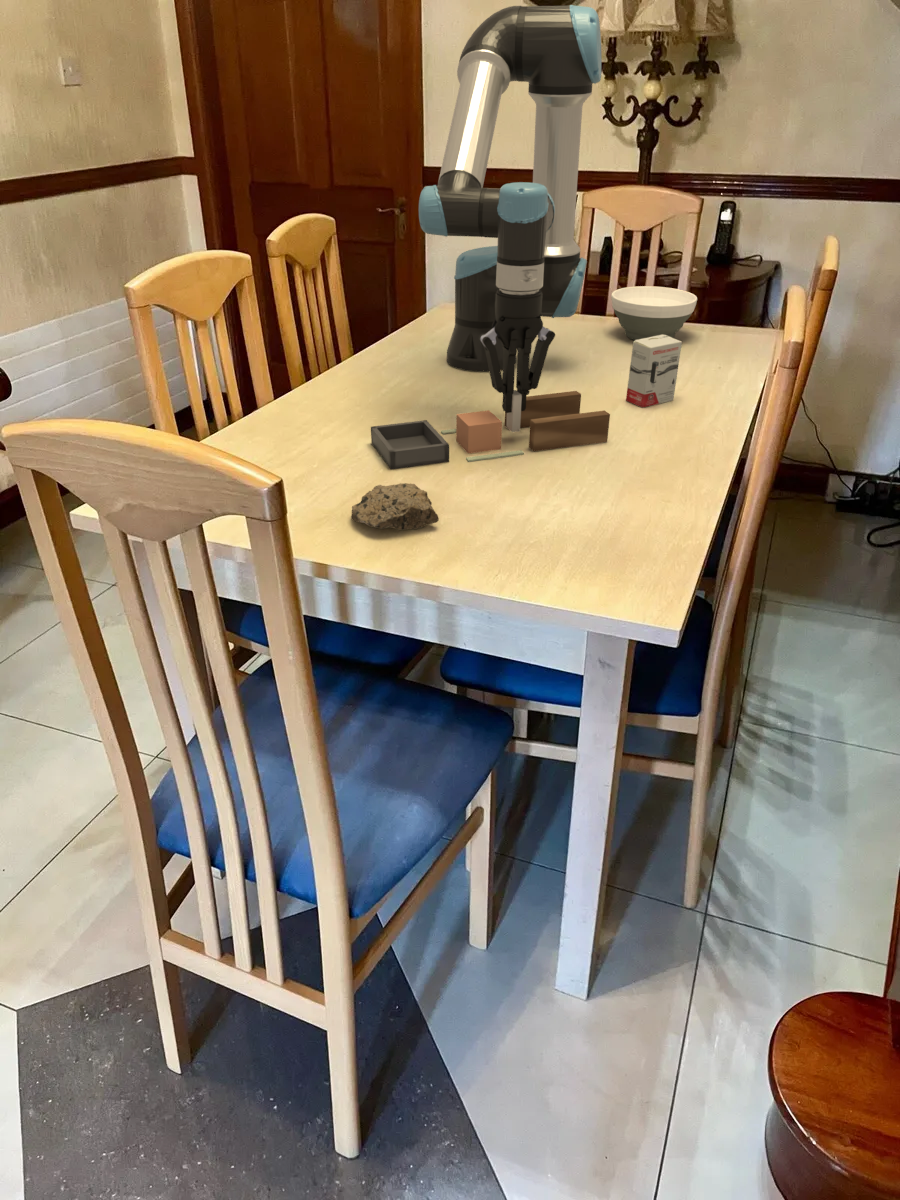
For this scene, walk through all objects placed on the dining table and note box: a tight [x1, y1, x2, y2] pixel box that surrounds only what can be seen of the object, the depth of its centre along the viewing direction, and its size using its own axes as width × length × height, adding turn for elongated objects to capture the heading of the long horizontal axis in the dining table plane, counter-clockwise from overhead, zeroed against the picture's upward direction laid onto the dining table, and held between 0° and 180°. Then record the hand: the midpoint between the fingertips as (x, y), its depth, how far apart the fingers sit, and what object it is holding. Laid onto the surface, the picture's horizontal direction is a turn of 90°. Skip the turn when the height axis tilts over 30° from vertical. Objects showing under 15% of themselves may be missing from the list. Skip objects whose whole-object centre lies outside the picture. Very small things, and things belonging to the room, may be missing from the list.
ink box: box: [625, 335, 683, 409], centre depth 173 cm, size 8×5×12 cm, turn 123°
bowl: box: [610, 285, 698, 341], centre depth 212 cm, size 20×20×10 cm
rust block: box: [455, 409, 503, 454], centre depth 155 cm, size 6×6×5 cm
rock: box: [351, 482, 440, 531], centre depth 130 cm, size 11×12×4 cm
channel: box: [503, 390, 611, 452], centre depth 159 cm, size 13×14×5 cm
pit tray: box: [370, 419, 450, 470], centre depth 152 cm, size 12×10×3 cm
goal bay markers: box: [440, 428, 525, 463], centre depth 157 cm, size 14×10×1 cm
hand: (513, 428), depth 157 cm, fingers closed
